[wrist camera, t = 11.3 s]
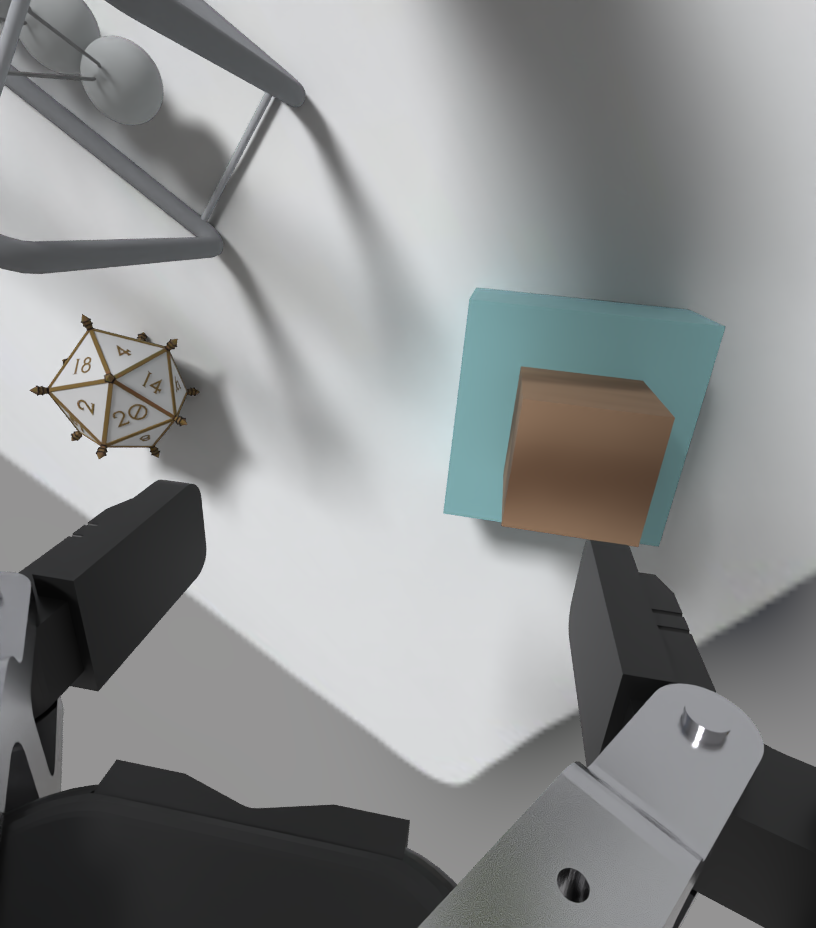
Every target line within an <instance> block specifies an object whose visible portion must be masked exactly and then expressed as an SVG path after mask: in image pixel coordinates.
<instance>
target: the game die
mask: <svg viewBox="0 0 816 928" xmlns="http://www.w3.org/2000/svg"><path fill="white" fill-rule="evenodd" d="M81 323H83V326H84V327H85V328H86V329H87V331H86V333H85V334H84V336H83V337H82V339H81V340H80V341H79V343H78V344H77V346H76V347H75V349H74V350H73V352H72V353H71V355H70V356H69V357H68V358H67V359H64V360H62V361H63V366H62V368H61V369H60V371H59V372H58V373H57V375H56V376H55V378H54V379H53V381H52V382H51V384H50V385H49V386H48V388H45V387H43V386H41V387H39V386H36V387H35V388H33V389H31V390H30V391H31V392H33V393H35V394H37V396H38V395H44V394H49V395H50V396H51V398H52V399H53V400H54V401H55V403H56V404H57V405H58V406H59V408H60V409H61V410H62V411H63V413H64V414H65V415H66V417H67V418H68V419H69V420H70V422H71V423H72V424H73V425H74V427H75V428H76V429H77V430H78V431H76V432H74V433H73V434H71V435H72V440H71V441H75V440H77V441H78V440H79V439H80V438H81V437H82V434H83V435H84V436H86V437H87V438H89V439H90V440H92V441H94V442H95V443H97V444H98V445H100V447H99V448H98V449H97V450H98V451H97V452H96V454H97V456H98V458H99V459H100V458H102V457H104V456H106V452H107V449H106V448H108V447H149V448H150V452H151V453H152V454H151V455H154V456H156V457H159V452H160V451H159V450H158V448H157V447H155V445H156V443H157V442H158V441H159V440H160V439H161V437H162V436H163V435H164V434H165V433H166V431H167V430H168V429H169V428H170V426H171V425H172V424H173V423H174V422H175V421H176V423H177V424H179V425H180V426H182V425H187V422H186V420H185V419H186V418H182V417H181V416H178V415H179V412H180V410H181V408H182V405H183V403H184V401H185V398H186V396H187V394H189V395H191V396H192V395H194V396H196V394H198V393H199V391H198V390H196V389H195V388H190V389H186V386H185V384H184V382H183V380H182V377H181V375H180V373H179V371H178V368H177V366H176V364H175V362H174V359H173V357H172V355H171V353H170V350H171V349H175V347H177V340H178V339H173V340H171V339H170V341H169V342H168V343H167V346H162V345H158V344H154V343H150V342H146V341H145V340H146V338H147V336H146V335H145V333H144V332H143V333H141V334H138V337H137V339H134V338H130V337H126V336H122V335H118V334H114V333H110V332H106V331H102V330H98V329H95V328H93V327H92V324H93V323H91V319H89V318H88V317H86V316H84V315H83V314H82V321H81Z"/></svg>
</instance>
